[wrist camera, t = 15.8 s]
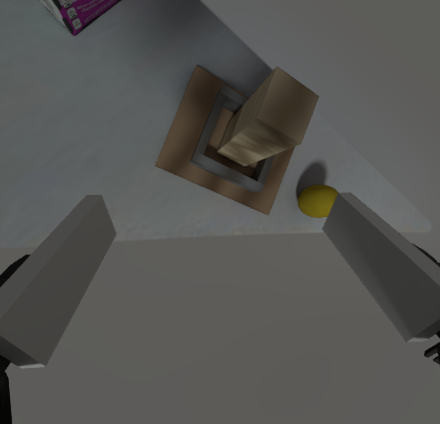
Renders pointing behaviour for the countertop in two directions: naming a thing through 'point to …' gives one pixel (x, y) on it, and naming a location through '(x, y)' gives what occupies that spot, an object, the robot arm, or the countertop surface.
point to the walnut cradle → (209, 141)
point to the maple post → (269, 120)
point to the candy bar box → (77, 12)
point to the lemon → (317, 200)
